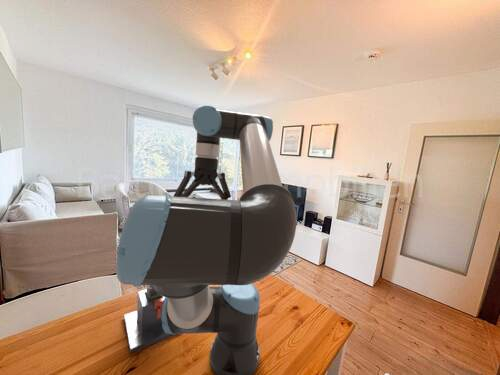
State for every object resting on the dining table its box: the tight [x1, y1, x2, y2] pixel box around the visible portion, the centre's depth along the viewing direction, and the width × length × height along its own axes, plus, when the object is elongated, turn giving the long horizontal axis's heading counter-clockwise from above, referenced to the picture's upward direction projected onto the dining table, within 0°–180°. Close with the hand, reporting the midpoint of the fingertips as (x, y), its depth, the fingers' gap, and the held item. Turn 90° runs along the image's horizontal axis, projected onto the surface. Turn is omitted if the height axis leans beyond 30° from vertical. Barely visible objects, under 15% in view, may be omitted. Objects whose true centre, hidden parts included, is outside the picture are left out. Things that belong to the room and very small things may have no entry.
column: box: [146, 285, 163, 301], centre depth 70 cm, size 5×5×22 cm
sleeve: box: [123, 288, 174, 354], centre depth 72 cm, size 16×16×12 cm
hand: (202, 218), depth 72 cm, fingers open, 13 cm apart
